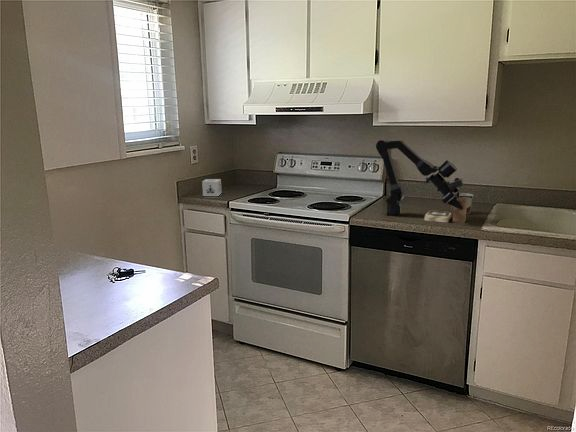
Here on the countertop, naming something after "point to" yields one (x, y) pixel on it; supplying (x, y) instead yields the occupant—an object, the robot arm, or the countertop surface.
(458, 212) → the tan orange upright block
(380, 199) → the countertop surface
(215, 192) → the icon cube
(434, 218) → the base plate
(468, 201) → the food container
